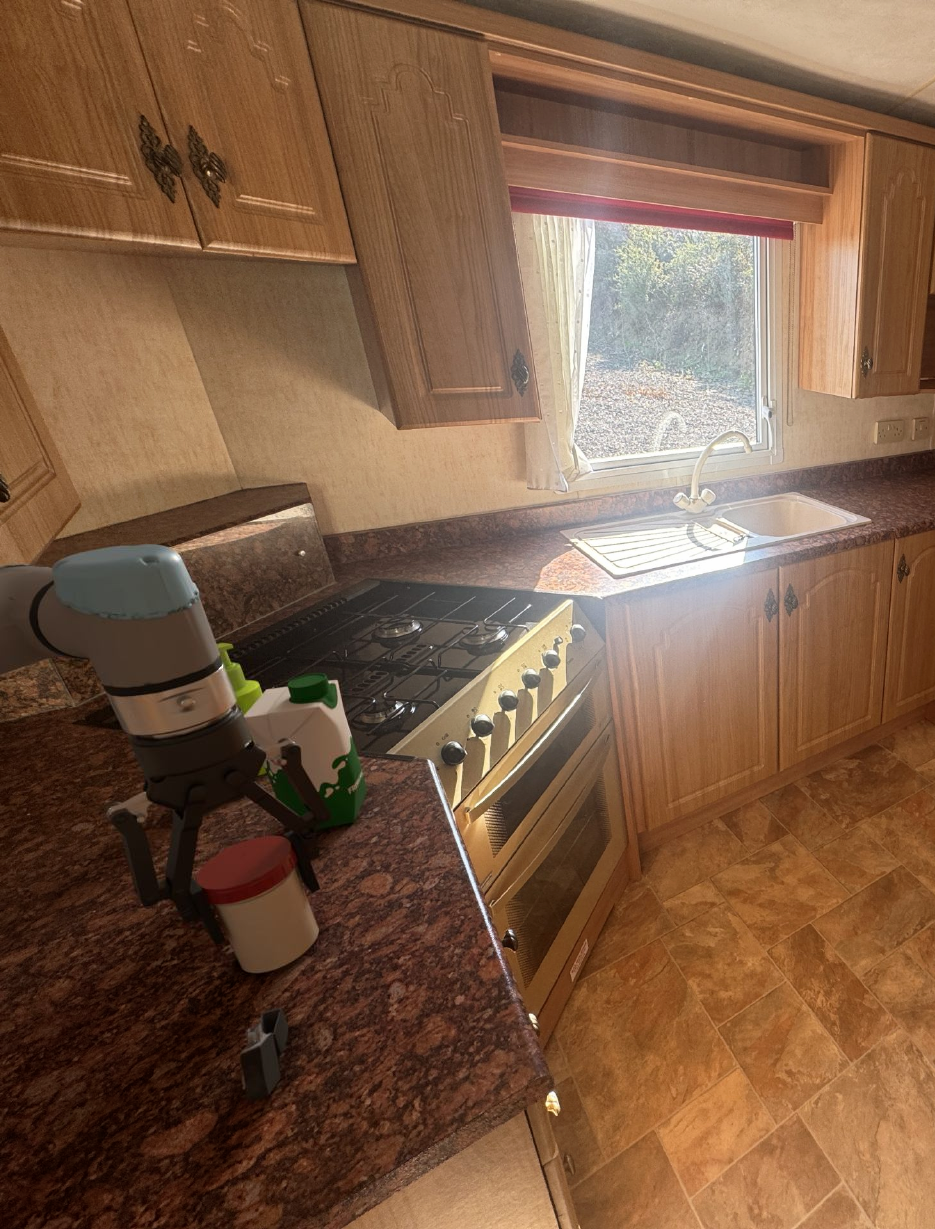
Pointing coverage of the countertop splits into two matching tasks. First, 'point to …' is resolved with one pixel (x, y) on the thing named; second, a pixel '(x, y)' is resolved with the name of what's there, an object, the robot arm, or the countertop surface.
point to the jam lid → (246, 869)
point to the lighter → (263, 1054)
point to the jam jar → (270, 926)
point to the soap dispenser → (240, 685)
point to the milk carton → (311, 744)
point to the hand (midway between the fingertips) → (265, 909)
